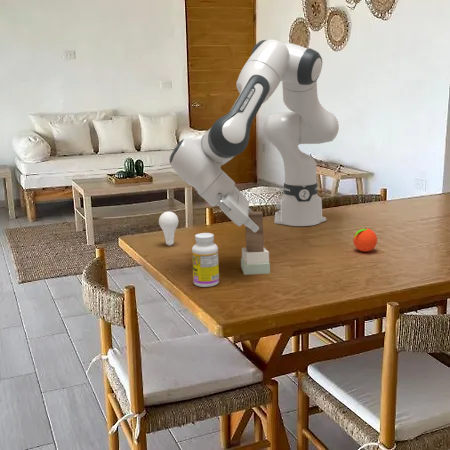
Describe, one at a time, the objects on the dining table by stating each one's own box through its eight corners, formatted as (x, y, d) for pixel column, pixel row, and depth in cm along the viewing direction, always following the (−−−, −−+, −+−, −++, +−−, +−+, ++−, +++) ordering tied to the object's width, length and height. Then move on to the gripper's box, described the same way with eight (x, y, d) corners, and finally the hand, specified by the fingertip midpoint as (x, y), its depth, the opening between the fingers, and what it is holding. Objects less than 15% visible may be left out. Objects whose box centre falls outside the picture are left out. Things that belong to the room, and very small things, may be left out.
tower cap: (242, 258, 163) (241, 247, 163) (263, 256, 164) (263, 246, 164) (247, 264, 158) (246, 253, 157) (269, 262, 159) (268, 251, 158)
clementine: (362, 256, 171) (362, 232, 169) (345, 251, 176) (345, 228, 175) (381, 251, 175) (382, 228, 173) (364, 246, 180) (365, 224, 179)
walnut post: (246, 247, 163) (245, 212, 160) (262, 247, 163) (261, 211, 160) (246, 252, 158) (245, 215, 156) (263, 251, 158) (262, 214, 156)
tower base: (241, 268, 165) (240, 257, 164) (266, 266, 165) (265, 256, 165) (244, 276, 158) (243, 265, 157) (270, 274, 159) (270, 263, 158)
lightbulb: (183, 243, 189) (181, 210, 187) (173, 249, 184) (171, 214, 181) (166, 242, 192) (164, 209, 189) (156, 247, 186) (154, 213, 184)
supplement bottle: (192, 279, 155) (190, 232, 152) (218, 278, 155) (216, 231, 152) (193, 288, 148) (191, 239, 145) (220, 287, 149) (218, 237, 146)
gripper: (226, 189, 146) (266, 227, 148) (229, 175, 166) (264, 209, 168) (208, 207, 147) (248, 244, 149) (213, 192, 167) (249, 225, 169)
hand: (257, 225), depth 158 cm, fingers open, 8 cm apart
